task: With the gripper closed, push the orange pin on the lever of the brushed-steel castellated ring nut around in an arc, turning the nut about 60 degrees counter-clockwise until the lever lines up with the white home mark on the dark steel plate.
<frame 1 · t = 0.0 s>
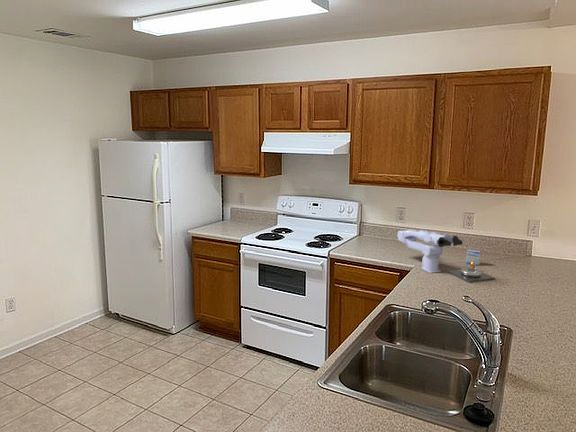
hand: (456, 243, 242), 22 cm above the worktop, tool horizontal, fingers open, 7 cm apart
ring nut: (471, 268, 258), point 3 cm above the worktop, hinge at 0.0°
base plate: (470, 275, 255), on the worktop
medicine box: (472, 264, 279), on the worktop
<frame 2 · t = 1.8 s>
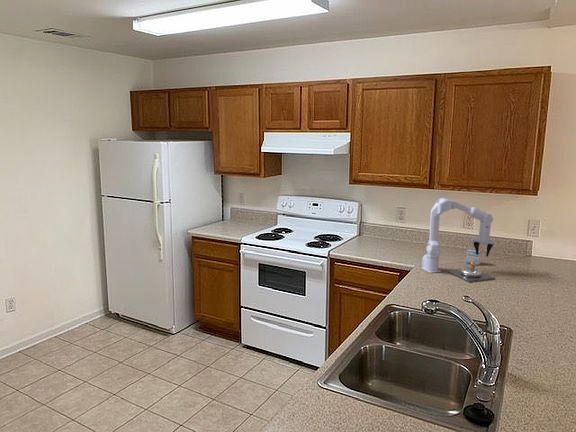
hand: (482, 255, 260), 10 cm above the worktop, tool pointing down, fingers open, 5 cm apart
nothing on the worktop moved.
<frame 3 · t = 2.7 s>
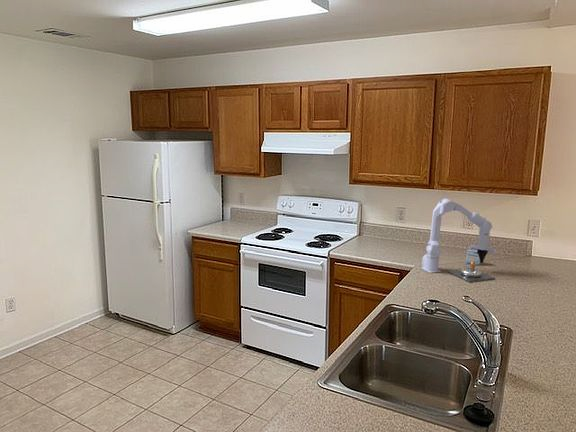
hand: (481, 262, 261), 6 cm above the worktop, tool pointing down, fingers closed
nothing on the worktop moved.
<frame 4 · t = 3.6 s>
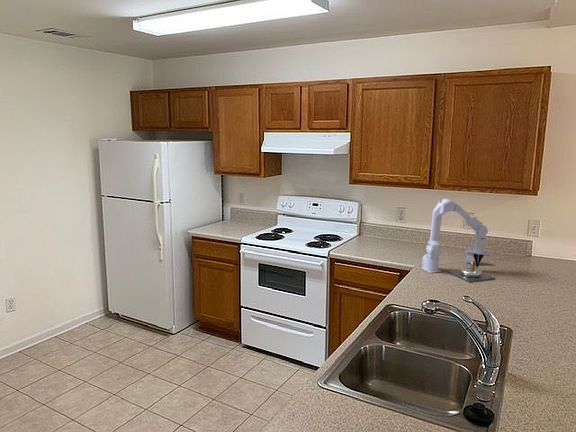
hand: (477, 266, 263), 3 cm above the worktop, tool pointing down, fingers closed
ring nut: (471, 268, 258), point 3 cm above the worktop, hinge at 0.0°, touching gripper
everything else where it was.
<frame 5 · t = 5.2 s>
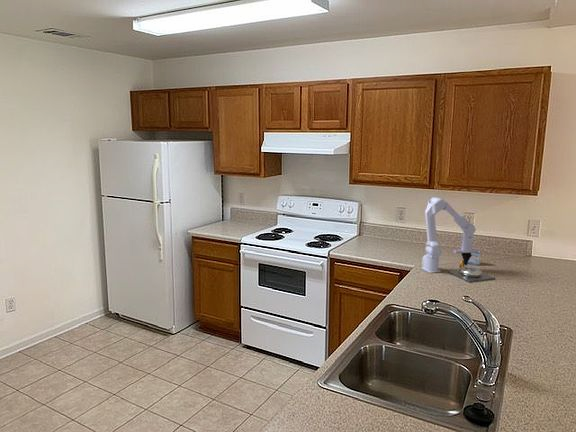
hand: (465, 264, 265), 3 cm above the worktop, tool pointing down, fingers closed
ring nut: (468, 268, 258), point 3 cm above the worktop, hinge at 33.1°, touching gripper
everything else where it was.
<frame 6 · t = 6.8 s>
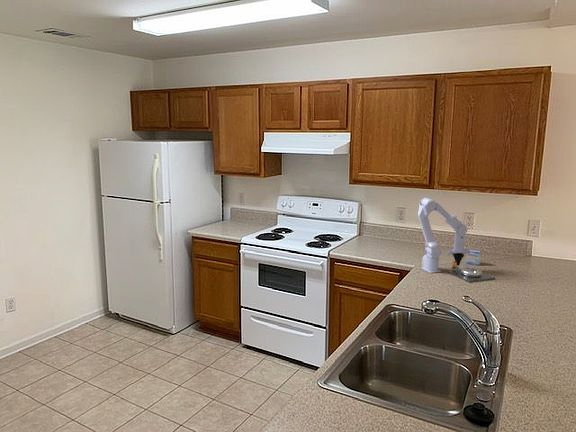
hand: (457, 265, 265), 3 cm above the worktop, tool pointing down, fingers closed
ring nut: (466, 268, 257), point 3 cm above the worktop, hinge at 61.7°, touching gripper
everything else where it was.
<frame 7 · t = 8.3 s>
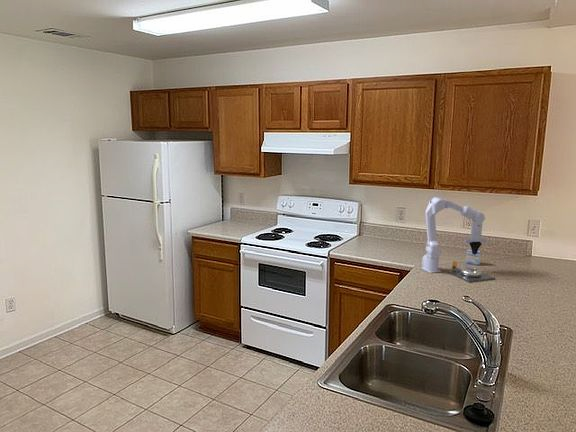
hand: (474, 254, 262), 11 cm above the worktop, tool pointing down, fingers closed
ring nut: (466, 268, 257), point 3 cm above the worktop, hinge at 61.8°
everything else where it was.
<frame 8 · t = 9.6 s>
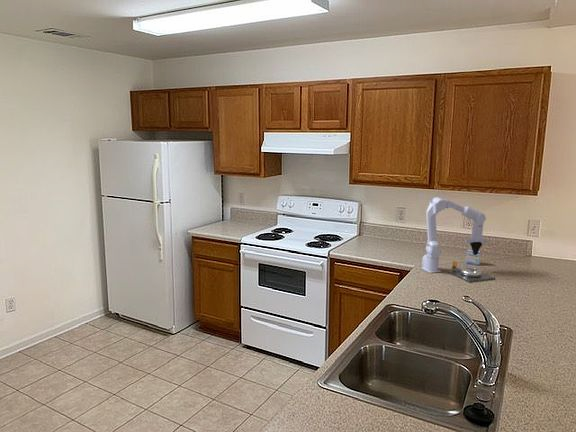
hand: (475, 254, 262), 10 cm above the worktop, tool pointing down, fingers closed
nothing on the worktop moved.
at the end: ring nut at +62° (first picture: +0°); medicine box moved 0.3 cm from its start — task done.
